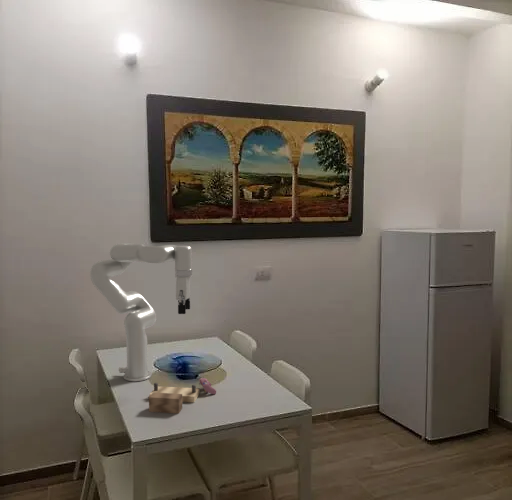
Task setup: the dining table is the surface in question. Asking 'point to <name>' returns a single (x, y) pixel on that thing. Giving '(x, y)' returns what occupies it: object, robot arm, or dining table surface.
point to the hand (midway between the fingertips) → (184, 311)
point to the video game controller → (207, 386)
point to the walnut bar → (165, 402)
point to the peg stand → (179, 392)
